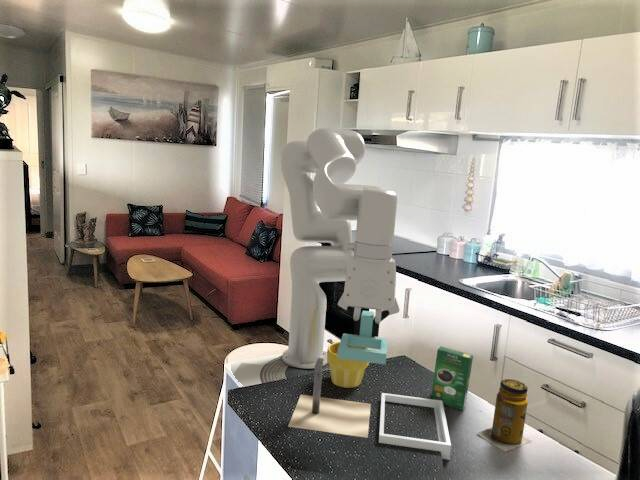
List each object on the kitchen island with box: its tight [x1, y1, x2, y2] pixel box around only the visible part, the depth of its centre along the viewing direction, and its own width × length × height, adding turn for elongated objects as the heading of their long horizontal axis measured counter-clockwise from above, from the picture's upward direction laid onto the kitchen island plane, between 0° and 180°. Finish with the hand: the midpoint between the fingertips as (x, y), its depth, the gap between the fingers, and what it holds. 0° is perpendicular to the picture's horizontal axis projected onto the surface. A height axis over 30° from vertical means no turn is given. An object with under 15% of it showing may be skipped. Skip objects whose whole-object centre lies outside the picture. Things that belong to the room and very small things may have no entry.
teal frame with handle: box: [337, 310, 389, 365], centre depth 99 cm, size 9×14×6 cm, turn 171°
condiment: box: [476, 378, 532, 452], centre depth 104 cm, size 7×8×12 cm
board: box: [287, 394, 372, 439], centre depth 106 cm, size 14×16×2 cm
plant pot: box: [326, 341, 370, 389], centre depth 122 cm, size 10×10×10 cm
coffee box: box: [430, 345, 474, 411], centre depth 117 cm, size 8×3×13 cm, turn 59°
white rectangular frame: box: [378, 392, 452, 461], centre depth 105 cm, size 18×14×3 cm
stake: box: [312, 358, 324, 414], centre depth 106 cm, size 5×2×11 cm, turn 172°
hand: (365, 338), depth 103 cm, fingers closed on teal frame with handle
